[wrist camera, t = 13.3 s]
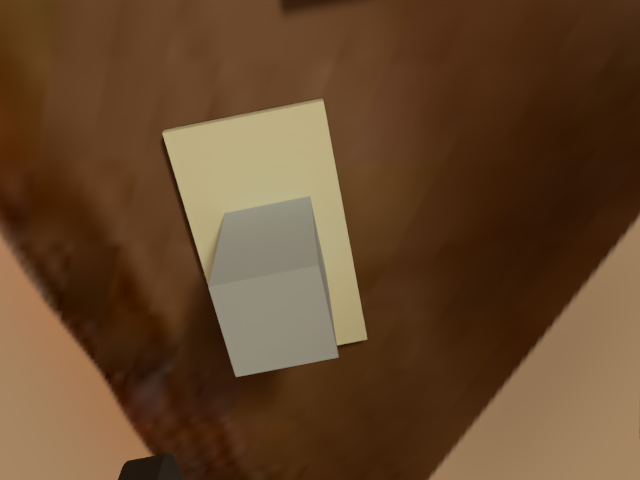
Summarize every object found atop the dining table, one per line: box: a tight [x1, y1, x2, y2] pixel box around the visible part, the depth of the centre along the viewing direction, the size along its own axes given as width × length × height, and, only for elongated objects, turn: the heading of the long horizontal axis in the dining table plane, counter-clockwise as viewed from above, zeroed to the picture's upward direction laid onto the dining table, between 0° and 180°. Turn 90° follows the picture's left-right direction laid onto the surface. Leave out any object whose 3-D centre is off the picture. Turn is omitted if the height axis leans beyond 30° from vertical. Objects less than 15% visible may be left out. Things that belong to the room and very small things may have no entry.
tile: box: [162, 98, 367, 345], centre depth 33 cm, size 8×14×1 cm, turn 11°
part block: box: [208, 196, 338, 377], centre depth 29 cm, size 4×4×8 cm
